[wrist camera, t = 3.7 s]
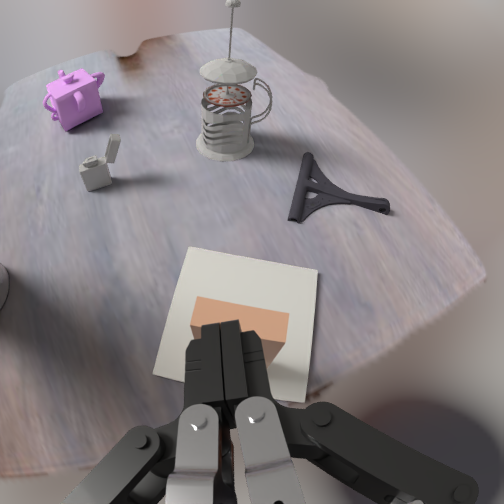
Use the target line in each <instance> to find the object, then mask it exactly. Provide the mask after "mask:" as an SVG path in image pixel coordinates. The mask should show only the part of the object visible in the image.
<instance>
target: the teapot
mask: <svg viewBox="0 0 504 504" xmlns="http://www.w3.org/2000/svg"><path fill="white" fill-rule="evenodd" d="M58 74H59V79H57V80H55V81H53V82H51V83H49V84H47V85H46V87H47V90H48V94H47V95H46V96H45V98H44V100H43V105H44V107H45V108H46V109H47V110H49V111H51V112H53V113H52V115H51V118H52V120H54V121H56V120H59V121H60V123H61V125H62V126H63V128H64V130H65V131H68V130H70V129H71V128H73V127H75V126H77V125H79V124H81V123H83V122H85V121H87V120H89V119H91V118H93V117H95V116H97V115H99V114H101V113H103V109H102V105H101V101H100V96H99V92H98V88H99V87H100V85H101V84H102V82H103V80H104V77H105V75H104V73H102V72H98V73H94V74H91V75H89V74H88V73H87V72H86V71H85V70H84V69H82V68H81V69H79V70H77V71H74V72H72V73H70V74H68V75H65V73H64V71H63V70H59V71H58ZM95 77H97V81H96V80H95V79H94V78H95ZM49 97H50V100H51V103H52V106H53V108H52V107H50V106H48V105H47V103H46V102H47V100H48V98H49ZM54 115H56V117H54Z"/></svg>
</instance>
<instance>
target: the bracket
mask: <svg viewBox="0 0 504 504" xmlns="http://www.w3.org/2000/svg"><path fill="white" fill-rule="evenodd" d="M309 177H311V178H313V179H315V180H316V181H317V182H318V183H315V182H313V181H310V180H309ZM306 191H309V192H314V193H317V194H318V195H317V196H316V197H315V198H311V199H307V198H305V195H306ZM350 203H351V204H354V205H357V206H360V207H364V208H367V209H370V210H373V211H376V212H379V213H382V214H385V215H387V214H389V212H390V203H389V201H388V200H387V199H385V198H375V197H368V196H360V195H356V194H351V193H348V192H346V191H344V190H342V189H341V188H339V187H337V186H336V185H334V184H333V183H332V182H331V181H330V180H329V179H327V177H326V176H325V175H324V174H323V173H322V172H321V170H320V169H319V167H318V165H317V163H316V161H315V160H314V159H313V155H312V154H311V153H309V152H307V153H305V154H304V156H303V160H302V165H301V169H300V173H299V177H298V181H297V185H296V189H295V193H294V197H293V201H292V205H291V209H290V213H289V217H288V221H290V220H291V219H296V220H297V223H299V222H300V221H301V222H302V221H303V220H304V219H305V218H306V217H307V216H308V215H309V214H311V213H312V212H313V211H315V210H317V209H319V208H321V207H324V206H326V205H331V204H350ZM380 209H381V210H380ZM384 209H385V210H384Z"/></svg>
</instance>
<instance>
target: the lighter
mask: <svg viewBox="0 0 504 504" xmlns="http://www.w3.org/2000/svg"><path fill="white" fill-rule="evenodd" d="M120 141H121V139H120V135H118V134H110V138H109V142H108V145H107V149H106V153H105V157H101V158H98V159H97V156H96V155H95V156H92V157H90V158H87V159H85V161H84V162H83V164H81V165H79V172H80V174H81V177H82V179H83V182H84V184H85V186H86V189H87V191H88V192H90V191H92V190H95V189H98V188H101V187H104V186H107V185H110V184H112V179H111V175H110V172H109V169H108V166H107V163H114V162H115V159H116V155H117V152H118V148H119V145H120Z"/></svg>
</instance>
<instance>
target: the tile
mask: <svg viewBox="0 0 504 504" xmlns="http://www.w3.org/2000/svg"><path fill="white" fill-rule="evenodd" d="M237 319H239V322H240V326H241V330H242V332H245V331H251V330H254V331H255V332H256V333H257V334H258V336H259V337H260V338H261V341H262V347H263V352H264V358H265V363H266V368H268V367H269V365H270V364H271V363H272V361H273V360H274V358H275V357H276V356H277V354H278V353H279V351H280V350H281V349H282V347H283V346H284V344H285V343H286V336H287V329H288V321H289V313H285V312H279V311H273V310H268V309H262V308H256V307H251V306H246V305H240V304H235V303H230V302H225V301H219V300H214V299H209V298H204V297H200V296H197V298H196V302H195V306H194V310H193V314H192V318H191V322H190V327H191V331H192V334H193V337H194V339H200V338H201V326H202V325H206V324H212V323H219V322H220V324H221V322H225V321H231V320H237Z"/></svg>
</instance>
